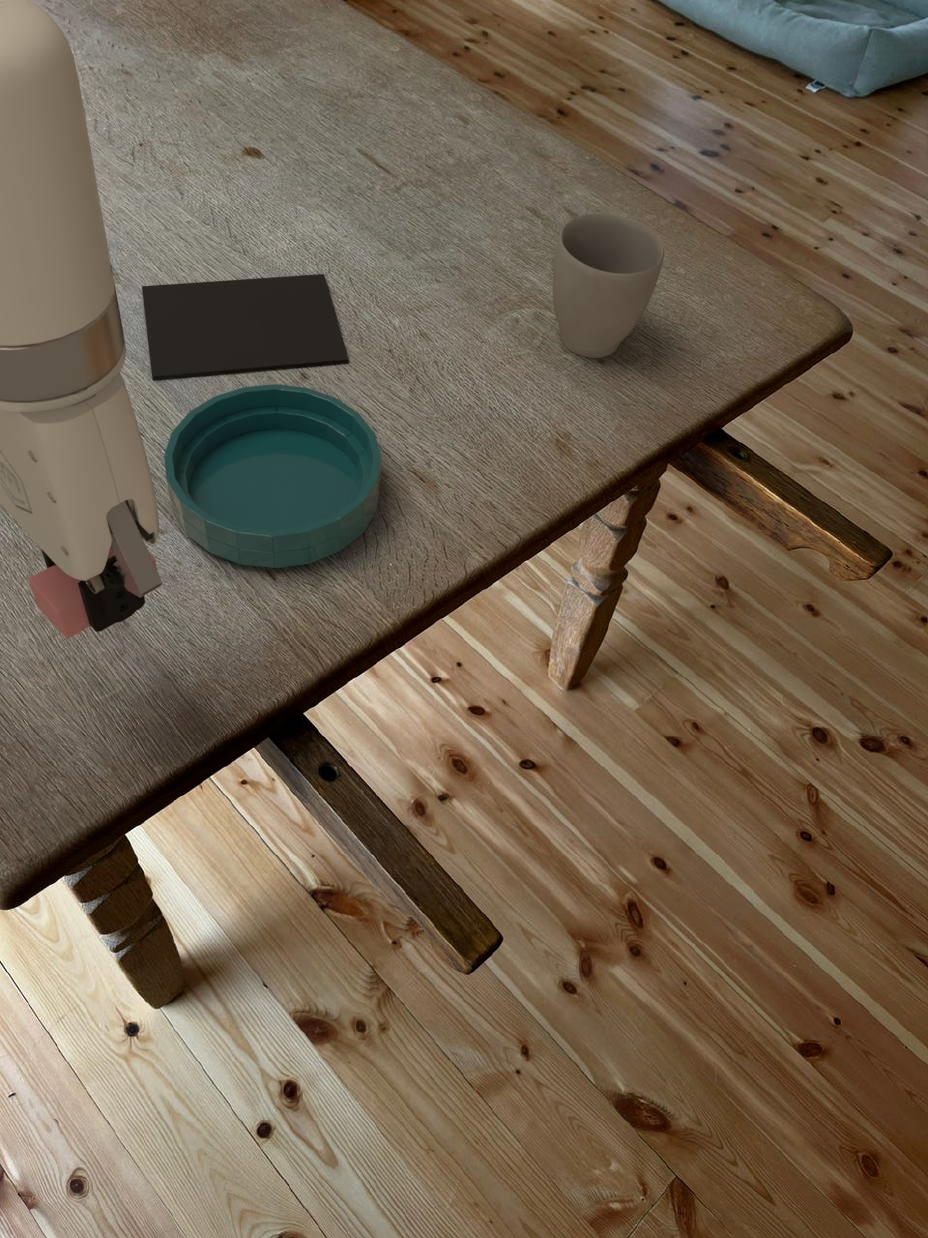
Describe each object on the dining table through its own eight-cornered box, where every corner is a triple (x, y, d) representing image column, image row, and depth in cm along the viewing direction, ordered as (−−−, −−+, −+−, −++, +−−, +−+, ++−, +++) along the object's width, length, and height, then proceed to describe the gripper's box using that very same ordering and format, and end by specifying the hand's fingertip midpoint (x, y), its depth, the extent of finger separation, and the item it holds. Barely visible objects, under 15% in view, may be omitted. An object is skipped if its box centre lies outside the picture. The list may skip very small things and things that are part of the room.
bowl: (182, 586, 69) (174, 548, 66) (164, 434, 78) (156, 394, 75) (397, 557, 73) (400, 520, 70) (357, 414, 81) (358, 376, 78)
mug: (649, 369, 88) (679, 273, 81) (553, 373, 87) (573, 276, 79) (614, 285, 95) (637, 190, 88) (523, 288, 94) (540, 191, 86)
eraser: (66, 640, 55) (57, 612, 53) (37, 606, 56) (27, 578, 54) (160, 586, 58) (155, 558, 56) (131, 555, 59) (124, 526, 57)
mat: (152, 380, 81) (151, 376, 81) (142, 289, 88) (141, 285, 88) (348, 363, 85) (348, 359, 85) (324, 277, 92) (324, 273, 91)
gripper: (-154, 260, 43) (-39, 541, 58) (53, 476, 38) (124, 728, 52) (8, 207, 47) (78, 484, 62) (220, 396, 41) (242, 653, 56)
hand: (99, 594), depth 57 cm, fingers closed on eraser, 3 cm apart
